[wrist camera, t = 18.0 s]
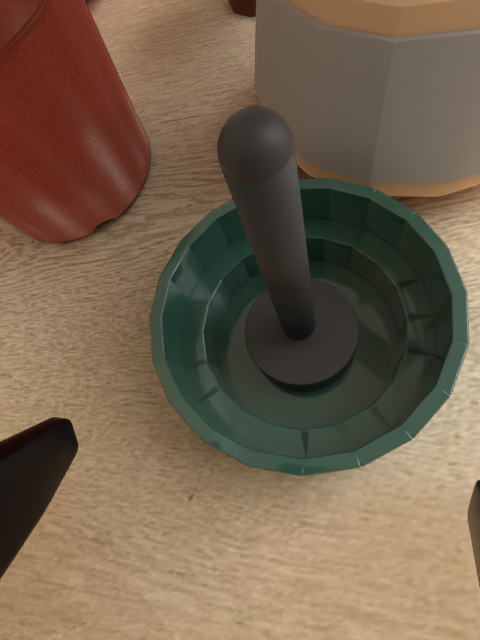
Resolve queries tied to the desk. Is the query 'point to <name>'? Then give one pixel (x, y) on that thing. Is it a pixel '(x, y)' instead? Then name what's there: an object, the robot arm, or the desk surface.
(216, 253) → the bowl
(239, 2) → the ice cream bowl
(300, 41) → the desk lamp
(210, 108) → the desk surface
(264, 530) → the desk surface
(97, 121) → the flower pot
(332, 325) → the joystick
